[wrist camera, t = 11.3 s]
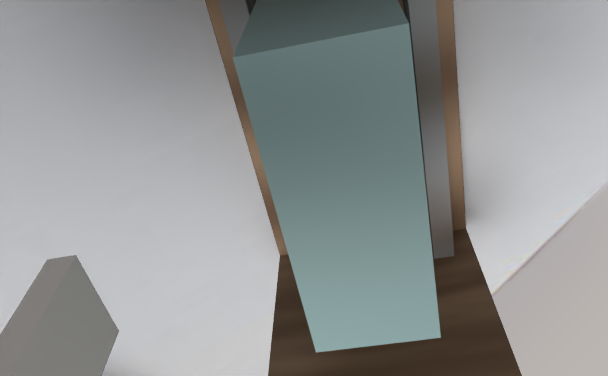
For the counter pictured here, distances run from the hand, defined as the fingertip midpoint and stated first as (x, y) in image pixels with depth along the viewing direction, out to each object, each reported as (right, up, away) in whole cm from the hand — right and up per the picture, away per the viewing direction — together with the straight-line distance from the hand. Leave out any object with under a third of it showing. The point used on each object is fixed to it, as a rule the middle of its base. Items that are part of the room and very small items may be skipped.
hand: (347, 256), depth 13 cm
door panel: (+1, +7, +11) cm, 13 cm away
